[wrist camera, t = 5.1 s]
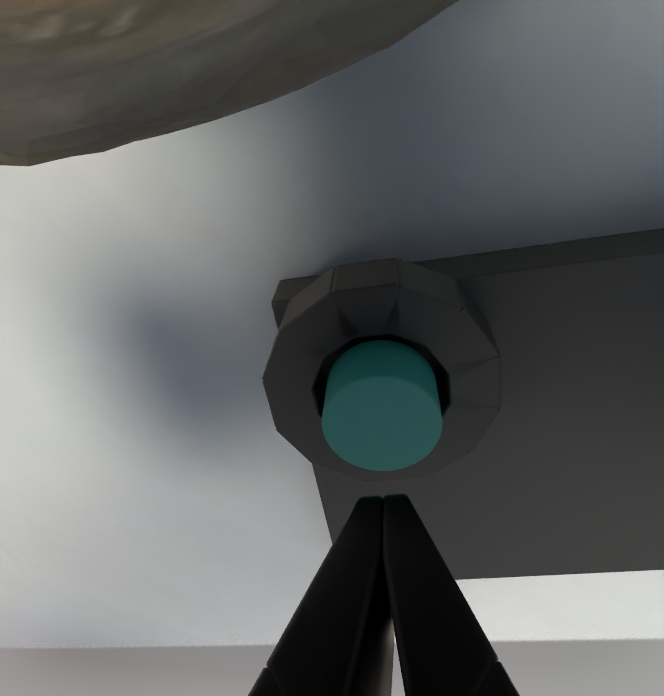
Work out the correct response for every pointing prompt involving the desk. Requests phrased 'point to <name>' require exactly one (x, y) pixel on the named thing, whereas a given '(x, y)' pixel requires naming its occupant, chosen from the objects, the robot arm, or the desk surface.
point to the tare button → (381, 406)
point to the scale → (502, 399)
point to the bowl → (170, 63)
